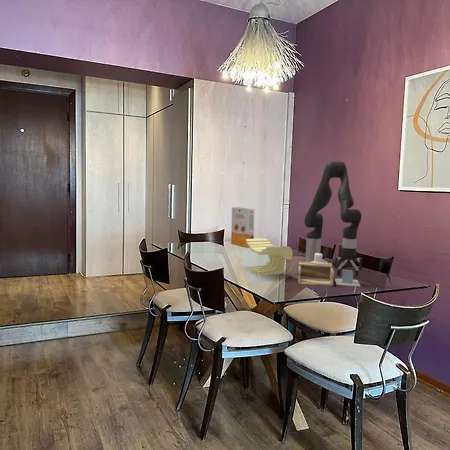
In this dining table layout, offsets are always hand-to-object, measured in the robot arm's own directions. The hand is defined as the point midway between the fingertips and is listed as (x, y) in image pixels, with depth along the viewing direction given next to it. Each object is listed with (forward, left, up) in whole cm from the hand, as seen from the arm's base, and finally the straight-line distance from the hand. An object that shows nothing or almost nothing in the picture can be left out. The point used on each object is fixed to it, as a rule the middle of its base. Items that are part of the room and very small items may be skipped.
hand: (347, 276), depth 227 cm
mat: (0, 0, -4) cm, 4 cm away
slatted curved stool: (-14, -44, -4) cm, 46 cm away
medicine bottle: (-20, -14, -4) cm, 25 cm away
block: (0, 0, -3) cm, 3 cm away
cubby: (0, -17, -4) cm, 17 cm away
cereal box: (-103, -71, -4) cm, 125 cm away
